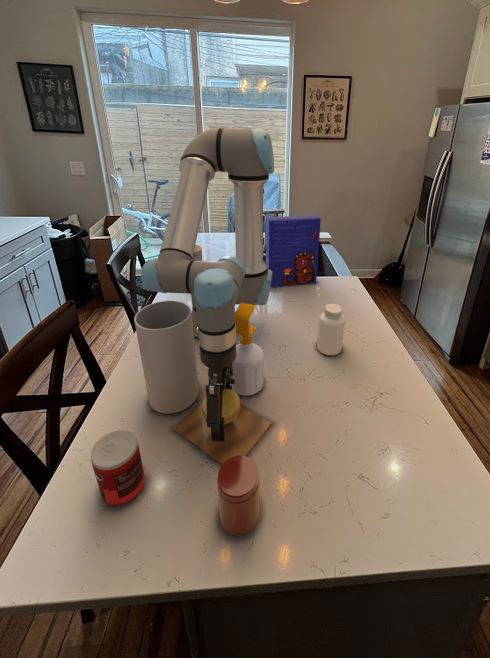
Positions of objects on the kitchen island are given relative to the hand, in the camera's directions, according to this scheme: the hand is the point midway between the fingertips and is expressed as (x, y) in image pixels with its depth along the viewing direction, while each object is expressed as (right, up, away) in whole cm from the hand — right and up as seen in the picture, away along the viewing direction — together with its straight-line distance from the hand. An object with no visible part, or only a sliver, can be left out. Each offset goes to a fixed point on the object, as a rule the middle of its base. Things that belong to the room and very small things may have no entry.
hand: (222, 422), depth 77 cm
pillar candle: (-27, +30, +74) cm, 84 cm away
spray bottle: (+4, +4, +14) cm, 15 cm away
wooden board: (0, -2, +1) cm, 2 cm away
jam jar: (+6, -9, -16) cm, 19 cm away
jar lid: (0, +5, -2) cm, 6 cm away
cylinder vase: (-14, +2, +9) cm, 17 cm away
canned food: (-17, -7, -12) cm, 22 cm away
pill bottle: (+29, +9, +29) cm, 42 cm away
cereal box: (+18, +27, +70) cm, 78 cm away
